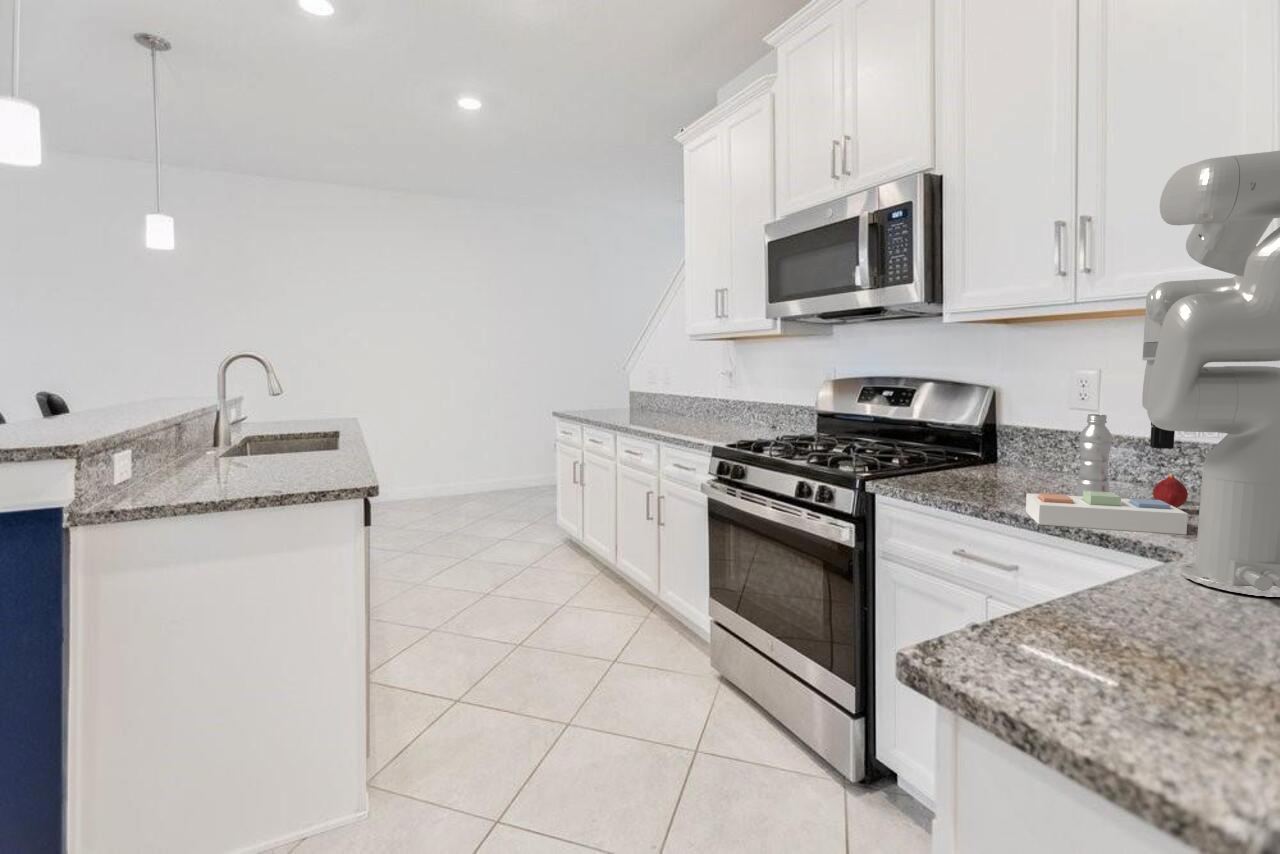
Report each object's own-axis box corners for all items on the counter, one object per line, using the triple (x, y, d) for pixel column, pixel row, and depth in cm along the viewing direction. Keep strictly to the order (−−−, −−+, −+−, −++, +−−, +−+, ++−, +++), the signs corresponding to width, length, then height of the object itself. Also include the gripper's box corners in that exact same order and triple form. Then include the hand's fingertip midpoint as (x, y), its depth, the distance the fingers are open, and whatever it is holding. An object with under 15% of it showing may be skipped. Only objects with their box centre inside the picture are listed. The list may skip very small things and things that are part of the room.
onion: (1192, 514, 136) (1195, 477, 135) (1161, 513, 137) (1164, 476, 136) (1175, 508, 141) (1178, 472, 140) (1146, 507, 142) (1148, 471, 142)
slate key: (1169, 521, 124) (1170, 505, 123) (1137, 519, 125) (1139, 503, 125) (1158, 515, 128) (1159, 499, 128) (1128, 513, 130) (1129, 498, 130)
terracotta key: (1072, 515, 129) (1073, 499, 129) (1043, 513, 131) (1044, 498, 131) (1065, 510, 134) (1066, 494, 134) (1037, 508, 136) (1038, 493, 135)
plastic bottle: (1081, 502, 148) (1086, 415, 146) (1071, 496, 155) (1075, 413, 153) (1113, 503, 146) (1119, 416, 144) (1102, 497, 153) (1107, 413, 151)
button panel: (1186, 534, 120) (1187, 513, 120) (1038, 524, 128) (1039, 504, 128) (1159, 519, 131) (1161, 500, 131) (1025, 511, 140) (1026, 493, 139)
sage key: (1119, 513, 126) (1121, 497, 126) (1090, 511, 128) (1091, 495, 128) (1111, 507, 131) (1112, 492, 131) (1082, 506, 133) (1083, 490, 132)
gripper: (1211, 350, 114) (1204, 453, 116) (1174, 353, 128) (1168, 444, 130) (1160, 351, 117) (1154, 451, 118) (1129, 353, 131) (1123, 443, 132)
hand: (1161, 447), depth 124 cm, fingers closed
